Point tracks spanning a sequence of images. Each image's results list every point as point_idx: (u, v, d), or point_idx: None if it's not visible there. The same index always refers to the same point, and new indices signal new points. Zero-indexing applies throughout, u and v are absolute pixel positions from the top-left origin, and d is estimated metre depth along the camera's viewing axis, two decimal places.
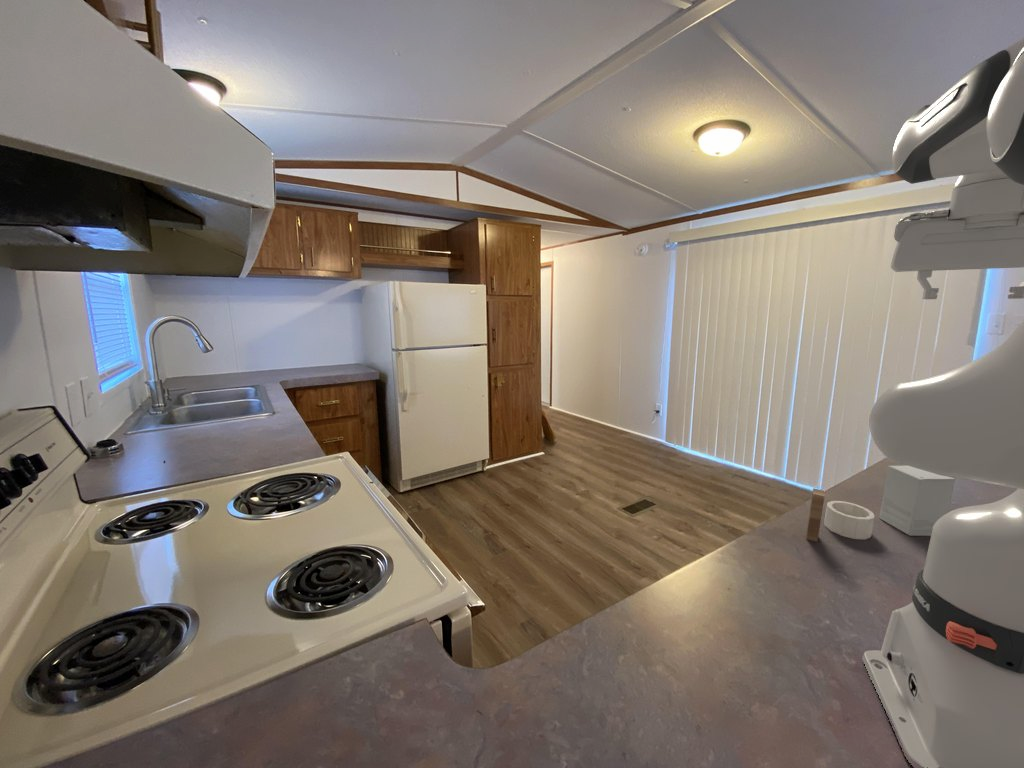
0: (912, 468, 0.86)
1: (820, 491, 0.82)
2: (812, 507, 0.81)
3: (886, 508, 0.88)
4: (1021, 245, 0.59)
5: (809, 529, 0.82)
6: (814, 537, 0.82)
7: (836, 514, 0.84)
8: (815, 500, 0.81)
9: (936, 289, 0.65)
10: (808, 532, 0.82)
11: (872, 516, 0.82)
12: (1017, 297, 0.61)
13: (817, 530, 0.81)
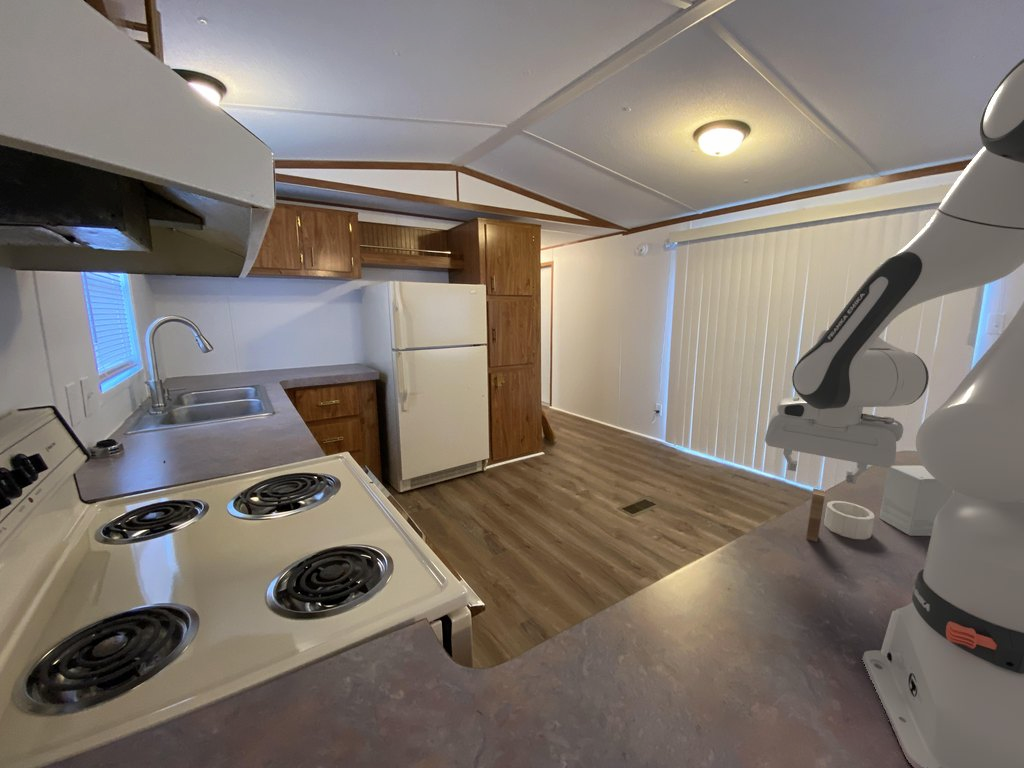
0: (912, 468, 0.86)
1: (820, 491, 0.82)
2: (812, 507, 0.81)
3: (886, 508, 0.88)
4: None
5: (809, 529, 0.82)
6: (814, 537, 0.82)
7: (836, 514, 0.84)
8: (815, 500, 0.81)
9: None
10: (808, 532, 0.82)
11: (872, 516, 0.82)
12: None
13: (817, 530, 0.81)
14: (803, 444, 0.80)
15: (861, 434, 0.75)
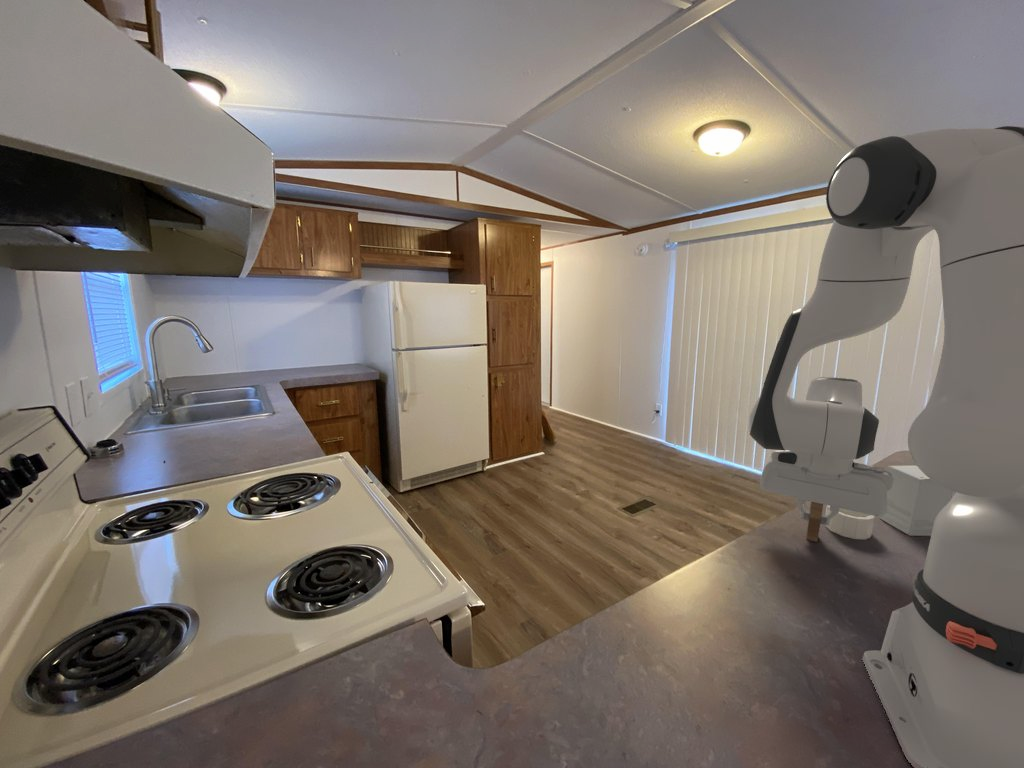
0: (912, 468, 0.86)
1: None
2: (812, 507, 0.81)
3: None
4: None
5: (809, 529, 0.82)
6: (814, 537, 0.82)
7: (836, 514, 0.84)
8: None
9: (822, 514, 0.82)
10: (808, 532, 0.82)
11: (872, 516, 0.82)
12: None
13: (817, 530, 0.81)
14: (797, 490, 0.82)
15: (853, 483, 0.76)
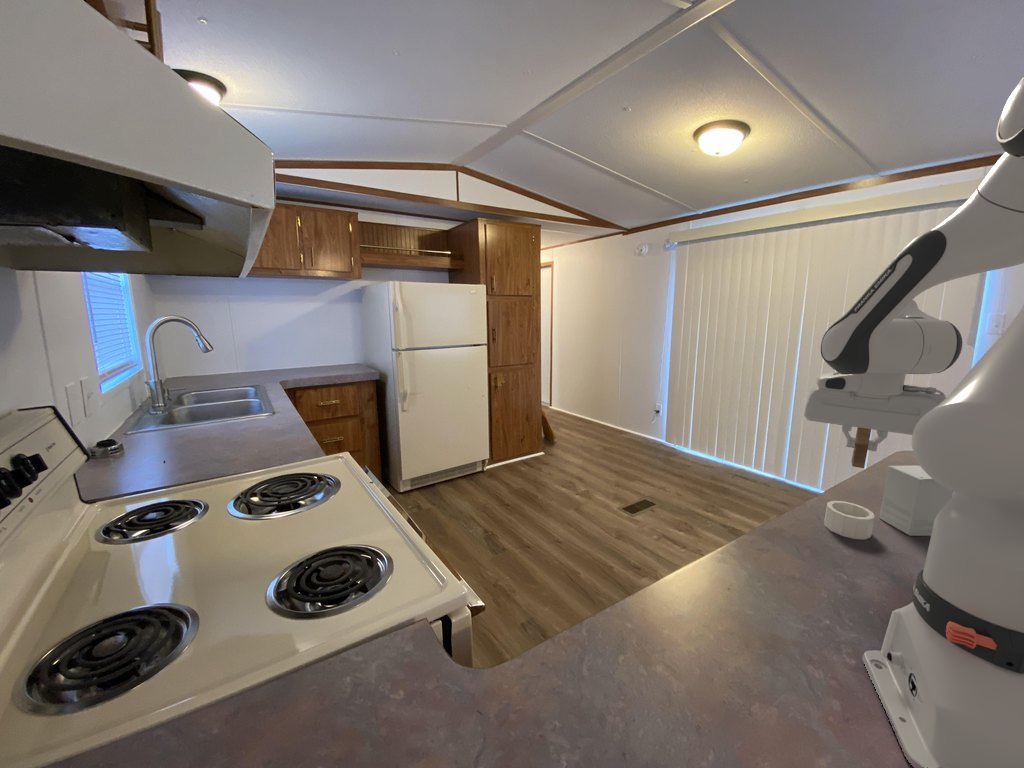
0: (912, 468, 0.86)
1: None
2: (859, 433, 0.81)
3: (886, 508, 0.88)
4: None
5: (856, 455, 0.82)
6: (861, 463, 0.82)
7: (836, 514, 0.84)
8: None
9: None
10: (854, 459, 0.82)
11: (872, 516, 0.82)
12: None
13: (864, 456, 0.81)
14: (844, 417, 0.82)
15: (904, 405, 0.76)
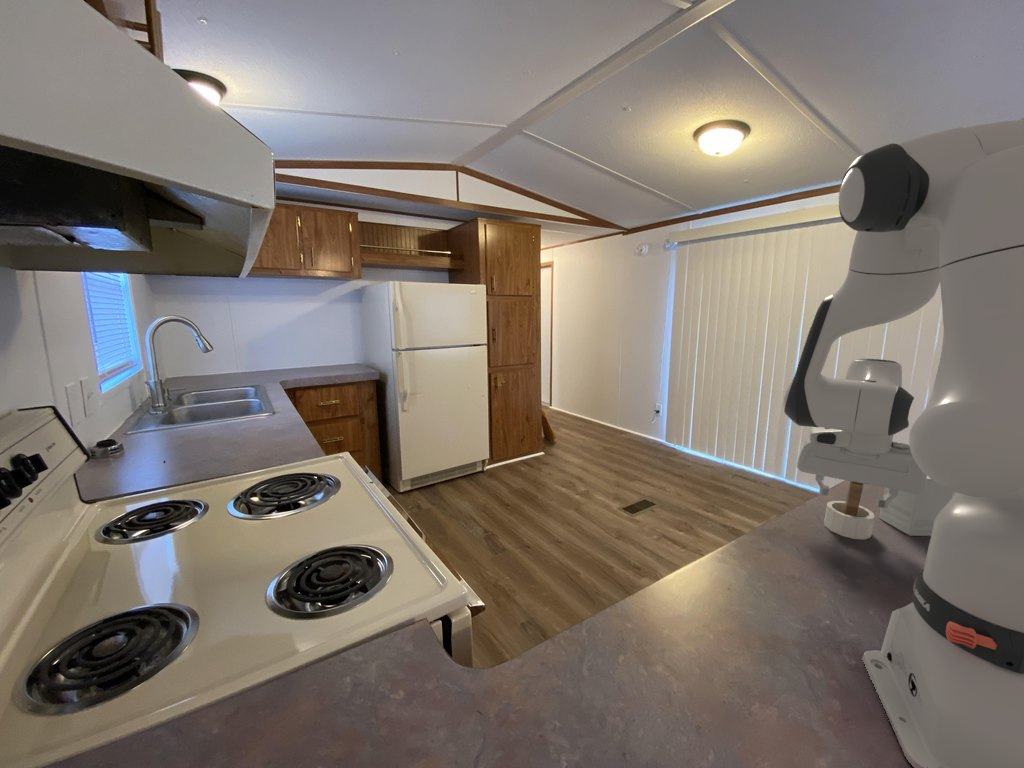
0: None
1: None
2: (850, 496, 0.83)
3: None
4: None
5: None
6: None
7: (836, 514, 0.84)
8: (853, 489, 0.83)
9: None
10: None
11: (872, 516, 0.82)
12: None
13: None
14: (835, 470, 0.84)
15: (892, 462, 0.79)
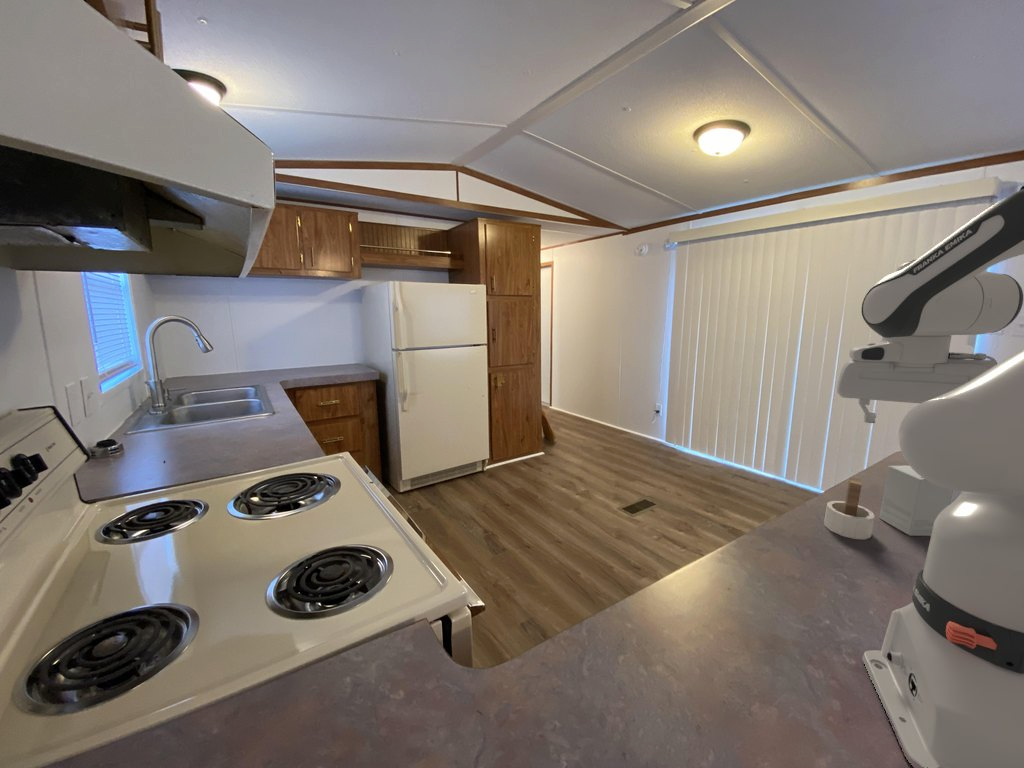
0: None
1: (857, 480, 0.84)
2: (849, 495, 0.84)
3: (886, 508, 0.88)
4: None
5: None
6: None
7: (836, 514, 0.84)
8: (852, 488, 0.83)
9: None
10: None
11: (872, 516, 0.82)
12: None
13: None
14: (884, 391, 0.75)
15: (951, 373, 0.70)
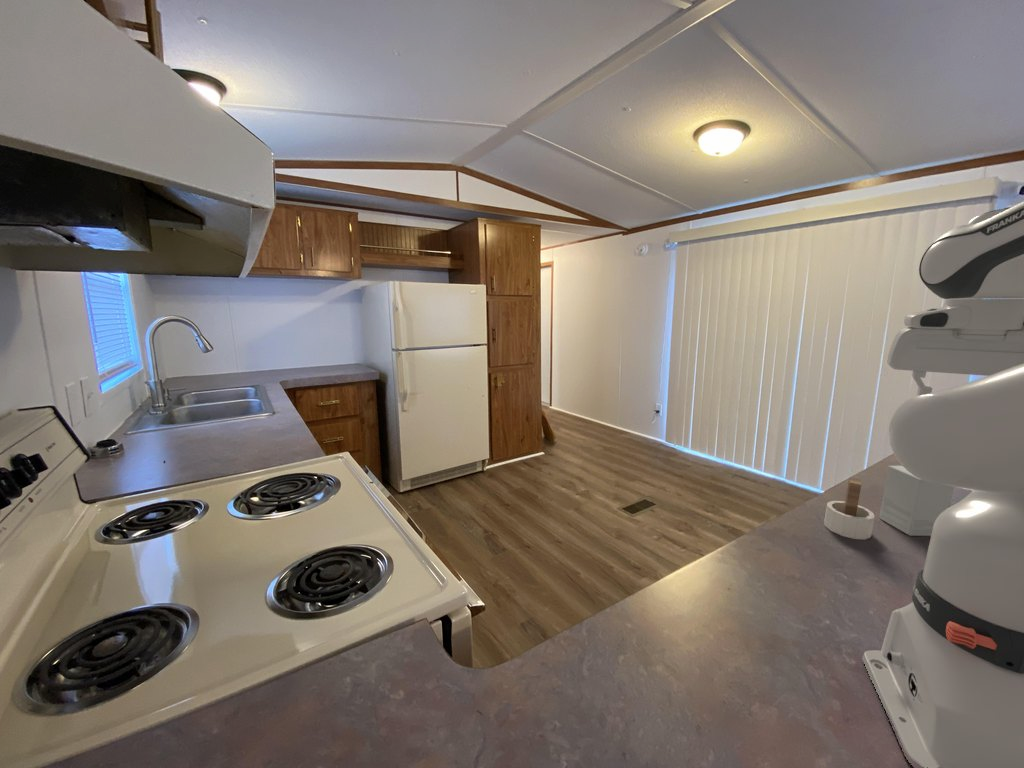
0: None
1: (856, 480, 0.84)
2: (849, 495, 0.84)
3: (886, 508, 0.88)
4: None
5: None
6: None
7: (836, 514, 0.84)
8: (851, 488, 0.83)
9: None
10: None
11: (872, 516, 0.82)
12: None
13: None
14: (943, 362, 0.67)
15: None
